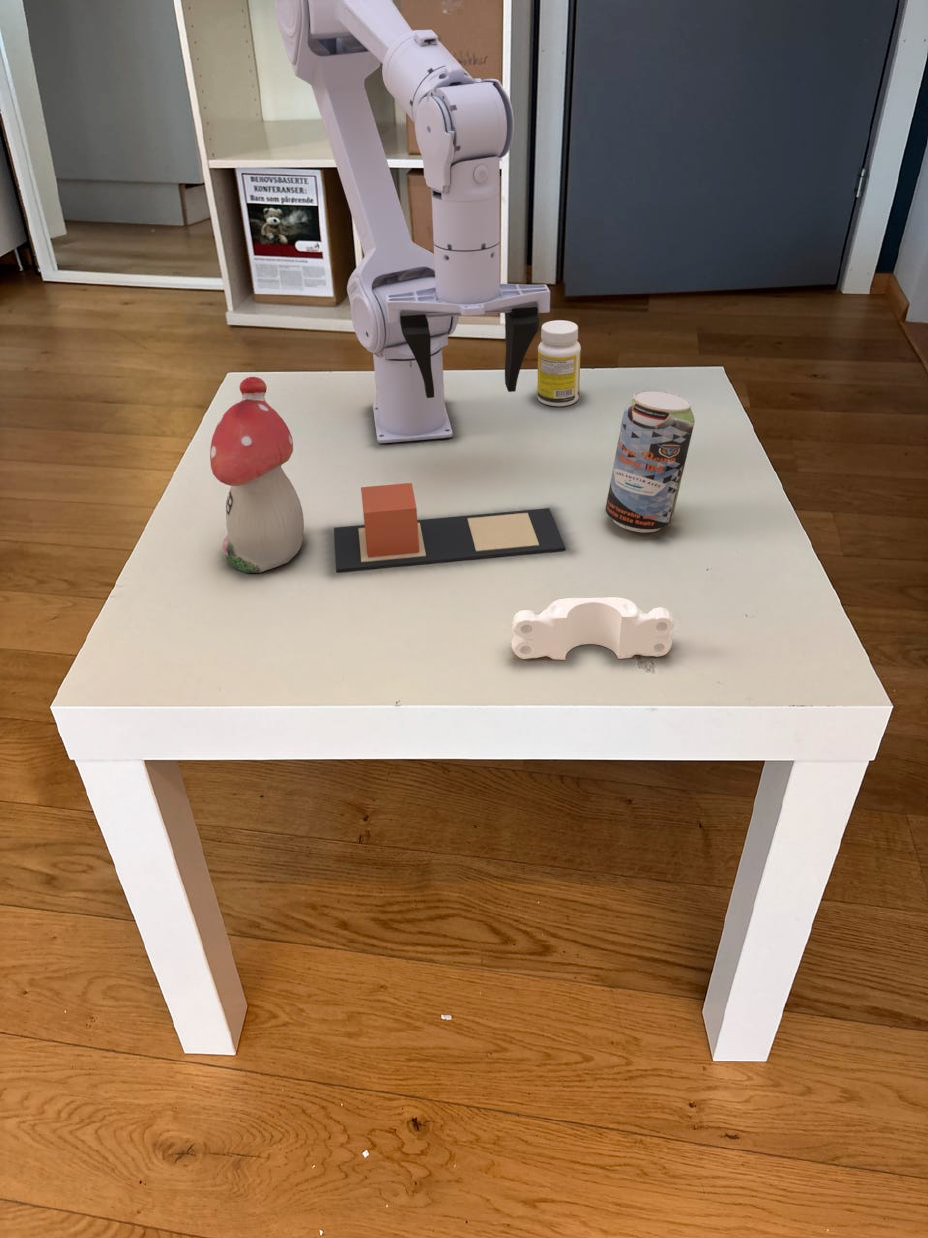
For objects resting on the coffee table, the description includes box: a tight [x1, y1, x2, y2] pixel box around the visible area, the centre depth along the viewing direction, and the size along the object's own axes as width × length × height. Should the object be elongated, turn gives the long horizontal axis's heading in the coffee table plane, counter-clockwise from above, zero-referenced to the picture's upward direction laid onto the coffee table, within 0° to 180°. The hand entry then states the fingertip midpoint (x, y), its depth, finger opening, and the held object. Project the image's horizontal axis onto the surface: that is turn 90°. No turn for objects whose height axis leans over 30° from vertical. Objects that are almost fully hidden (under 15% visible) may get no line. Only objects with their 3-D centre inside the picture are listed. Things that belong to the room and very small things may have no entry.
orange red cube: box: [360, 482, 419, 557], centre depth 86 cm, size 4×4×4 cm
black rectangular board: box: [333, 507, 566, 573], centre depth 87 cm, size 7×20×1 cm, turn 98°
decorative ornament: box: [209, 376, 305, 574], centre depth 82 cm, size 9×7×15 cm
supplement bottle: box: [537, 319, 582, 407], centre depth 109 cm, size 5×5×8 cm
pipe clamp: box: [510, 596, 675, 661], centre depth 73 cm, size 12×2×4 cm, turn 90°
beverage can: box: [605, 389, 696, 533], centre depth 86 cm, size 6×7×12 cm
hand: (470, 390), depth 92 cm, fingers open, 7 cm apart
